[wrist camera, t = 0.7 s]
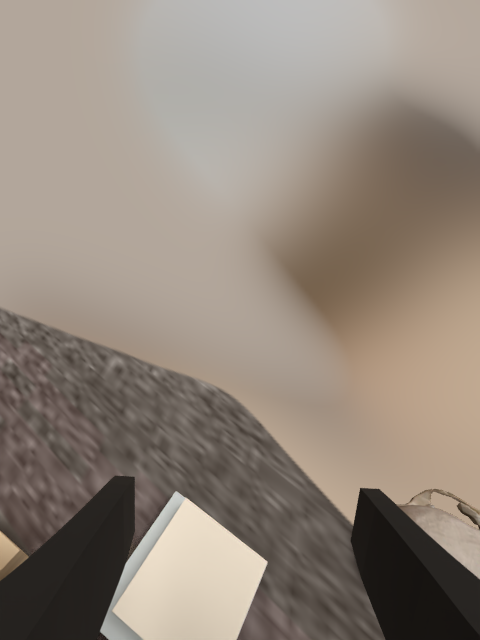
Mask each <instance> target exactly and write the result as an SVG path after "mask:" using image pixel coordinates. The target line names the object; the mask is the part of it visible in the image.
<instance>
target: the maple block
mask: <svg viewBox="0 0 480 640" xmlns="http://www.w3.org/2000/svg"><path fill="white" fill-rule="evenodd" d="M28 558H29V557H28V556H27V555H26V554H25V553H24V552H23V551H22V550H21V549H20V548H19V547H18V546H17V545H15V544H14V543H13V542H12V541H11V540H10V539H9V538H8V537H7V536H6V535H5V534H4V533H2V532H1V531H0V581H1V580H2V579H3V578H4V577H6V576H7V575H8V574H9V573H11V572H12V571H13V570H14V569H16V568H17V567H18V566H19V565H20V564H22V563H23V562H24V561H25V560H26V559H28Z"/></svg>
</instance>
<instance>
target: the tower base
mask: <svg viewBox="0 0 480 640" xmlns="http://www.w3.org/2000/svg"><path fill="white" fill-rule="evenodd" d="M184 500H185V498H184V497H183V496H182V495H181V494H179V493H178V492H177V491H176V492H175V493H174V495H173V496H172V498H171V499H170V500H169V502H168V503H167V505H166V506H165V508H164V509H163V510H162V512H161V513H160V515H159V516H158V518H157V519H156V521H155V522H154V523H153V525H152V526H151V528H150V529H149V531H148V532H147V534H146V535H145V536H144V538H143V539H142V541H141V542H140V544H139V545H138V547H137V548H136V549H135V551H134V552H133V554H132V555H131V557H130V558H129V560H128V561H127V562H126V564H125V567H124V570H123V573H122V576H121V578H120V581H119V583H118V586H117V589H116V591H115V594H114V596H113V599H112V602H111V604H110V607H109V609H108V612H107V614H106V617H105V620H104V622H103V625H102V627H101V630H100V632H101V633H102V634H103V635H104V636H105V637H106V638H108V639H109V640H143V639H142V638H141V637H140V636H139V635H138V634H137V633H135V632H134V631H133V630H132V629H131V628H130V627H129V626H128V625H127V624H125V623H124V622H123V621H122V620H121V619H120V618H119V617H118V616H117V615H115V614H114V613H113V612H112V610H113V608H114V607H115V605H116V604H117V602H118V600H119V599H120V597H121V596H122V594H123V593H124V591H125V590H126V588H127V587H128V585H129V584H130V582H131V581H132V579H133V578H134V576H135V574H136V573H137V571H138V570H139V568H140V567H141V565H142V564H143V562H144V561H145V559H146V558H147V556H148V555H149V553H150V552H151V550H152V548H153V547H154V545H155V544H156V542H157V541H158V539H159V538H160V536H161V535H162V533H163V532H164V530H165V529H166V527H167V526H168V524H169V522H170V521H171V519H172V518H173V516H174V515H175V513H176V512H177V510H178V509H179V507H180V506H181V504H182V503H183V501H184ZM265 568H266V567H265ZM263 573H264V572H263ZM261 578H262V577H261ZM259 583H260V582H259ZM257 588H258V587H257ZM255 593H256V592H255ZM253 598H254V597H253ZM251 603H252V602H251ZM249 608H250V607H249ZM247 613H248V612H247ZM245 618H246V617H245ZM243 623H244V622H243ZM241 628H242V627H241ZM239 633H240V632H239ZM238 635H239V634H238ZM237 638H238V637H237ZM236 640H237V639H236Z"/></svg>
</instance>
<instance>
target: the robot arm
mask: <svg viewBox="0 0 480 640" xmlns="http://www.w3.org/2000/svg"><path fill="white" fill-rule="evenodd" d="M134 532H135V477H127V476H114V477H113V478H112V479H111V480H110V481H109V482H108V483H107V484H106V485H105V486H104V487H103V488H102V489H101V490H100V491H99V492H98V493H97V494H96V495H95V496H94V497H93V498H92V499H91V500H90V501H89V502H88V503H87V504H86V505H85V506H84V507H83V508H82V509H81V510H80V511H79V512H78V513H77V514H76V515H75V516H74V517H73V518H72V519H71V520H70V521H69V522H67V523H66V524H65V525H64V526H63V527H62V528H61V529H60V530H59V531H58V532H57V533H56V534H55V535H54V536H52V537H51V538H50V539H49V540H48V541H47V542H46V543H45V544H43V545H42V546H41V547H40V548H39V549H38V550H37V551H35V552H34V553H33V554H32V555H31V556H30V557H29V558H28V559H26V560H25V561H24V562H23V563H22V564H20V565H19V566H18V567H17V568H16V569H14V570H13V571H12V572H11V573H9V574H8V575H7V576H6V577H4V578H3V579H2V580H1V581H0V640H97V638H98V635H99V632H100V630H101V627H102V625H103V622H104V620H105V617H106V614H107V612H108V609H109V607H110V604H111V602H112V599H113V596H114V594H115V591H116V589H117V586H118V583H119V581H120V578H121V576H122V573H123V570H124V567H125V564H126V560H127V557H128V553H129V550H130V546H131V543H132V539H133V535H134ZM351 543H352V547H353V550H354V554H355V558H356V562H357V565H358V568H359V572H360V575H361V578H362V581H363V584H364V586H365V589H366V591H367V594H368V596H369V599H370V602H371V604H372V607H373V609H374V612H375V614H376V617H377V619H378V622H379V624H380V627H381V629H382V632H383V634H384V637H385V639H386V640H480V579H479V578H478V577H477V576H475V575H474V574H473V573H472V572H471V571H469V570H468V569H467V568H466V567H465V566H464V565H462V564H461V563H460V562H459V561H458V560H456V559H455V558H454V557H453V556H452V555H451V554H450V553H448V552H447V551H446V550H445V549H444V548H443V547H442V546H441V545H439V544H438V543H437V542H436V541H435V540H434V539H433V538H432V537H431V536H429V535H428V534H427V533H426V532H425V531H424V530H423V529H422V528H421V527H420V526H419V525H417V524H416V523H415V522H414V521H413V520H412V519H411V518H410V517H409V516H408V515H407V514H406V513H405V512H404V511H402V510H401V509H400V508H399V507H398V506H397V505H396V504H395V503H394V502H393V501H392V500H391V499H390V498H388V497H387V496H386V495H385V494H384V493H383V492H382V491H380V490H379V489H368V488H360V492H359V498H358V504H357V510H356V515H355V520H354V526H353V532H352V537H351Z"/></svg>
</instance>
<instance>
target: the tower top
mask: <svg viewBox="0 0 480 640" xmlns="http://www.w3.org/2000/svg"><path fill="white" fill-rule="evenodd" d="M266 565H267V561H266V560H264V559H263V558H262V557H261V556H259V555H258V554H257V553H256V552H254V551H253V550H252V549H250V548H249V547H248V546H247V545H245V544H244V543H243V542H242V541H240V540H239V539H238V538H237V537H235V536H234V535H233V534H231V533H230V532H229V531H228V530H226V529H225V528H224V527H223V526H221V525H220V524H219V523H218V522H216V521H215V520H214V519H212V518H211V517H210V516H209V515H207V514H206V513H205V512H204V511H202V510H201V509H200V508H199V507H197V506H196V505H195V504H193V503H192V502H191V501H190V500H188V499H187V498H185V500H184V501H183V503H182V504H181V506H180V507H179V509H178V510H177V512H176V513H175V515H174V516H173V518H172V519H171V521H170V522H169V524H168V526H167V527H166V529H165V530H164V532H163V533H162V535H161V536H160V538H159V539H158V541H157V542H156V544H155V545H154V547H153V548H152V550H151V552H150V553H149V555H148V556H147V558H146V559H145V561H144V562H143V564H142V565H141V567H140V568H139V570H138V571H137V573H136V574H135V576H134V578H133V579H132V581H131V582H130V584H129V585H128V587H127V588H126V590H125V591H124V593H123V594H122V596H121V597H120V599H119V600H118V602H117V604H116V605H115V607H114V608H113V610H112V612H113V613H114V614H115V615H117V616H118V617H119V618H120V619H121V620H122V621H123V622H124V623H125V624H127V625H128V626H129V627H130V628H131V629H132V630H133V631H134V632H135V633H137V634H138V635H139V636H140V637H141V638H142V639H143V640H236V639H237V637H238V634H239V632H240V630H241V627H242V625H243V622H244V620H245V617H246V615H247V612H248V610H249V607H250V605H251V602H252V600H253V597H254V595H255V592H256V590H257V587H258V585H259V582H260V580H261V577H262V575H263V572H264V570H265V567H266Z"/></svg>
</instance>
